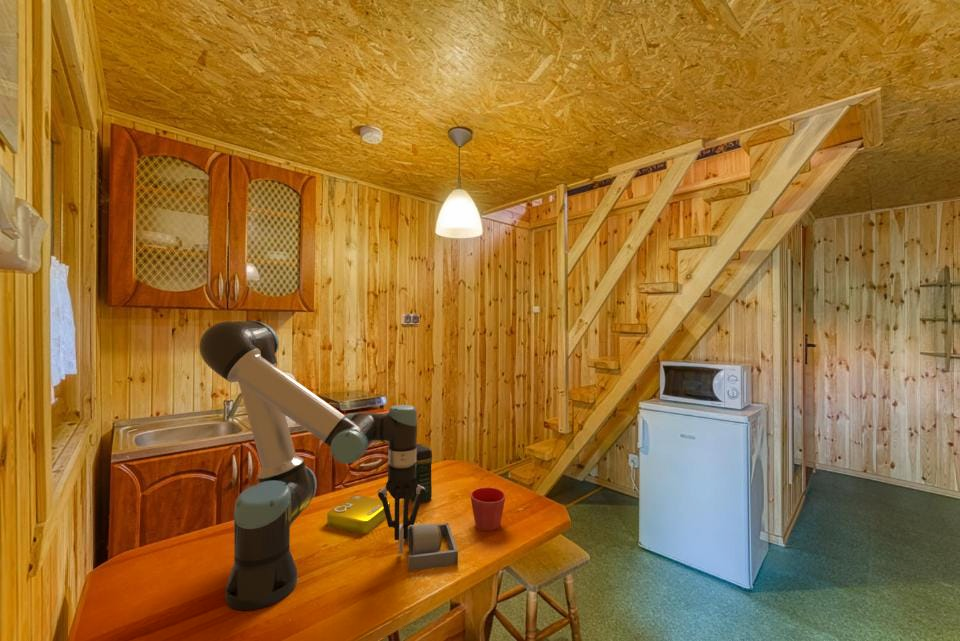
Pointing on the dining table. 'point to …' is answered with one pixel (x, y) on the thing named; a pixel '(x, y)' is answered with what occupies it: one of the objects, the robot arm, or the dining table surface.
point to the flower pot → (487, 507)
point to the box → (436, 554)
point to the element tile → (357, 514)
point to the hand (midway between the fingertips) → (400, 550)
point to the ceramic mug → (424, 539)
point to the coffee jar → (423, 471)
